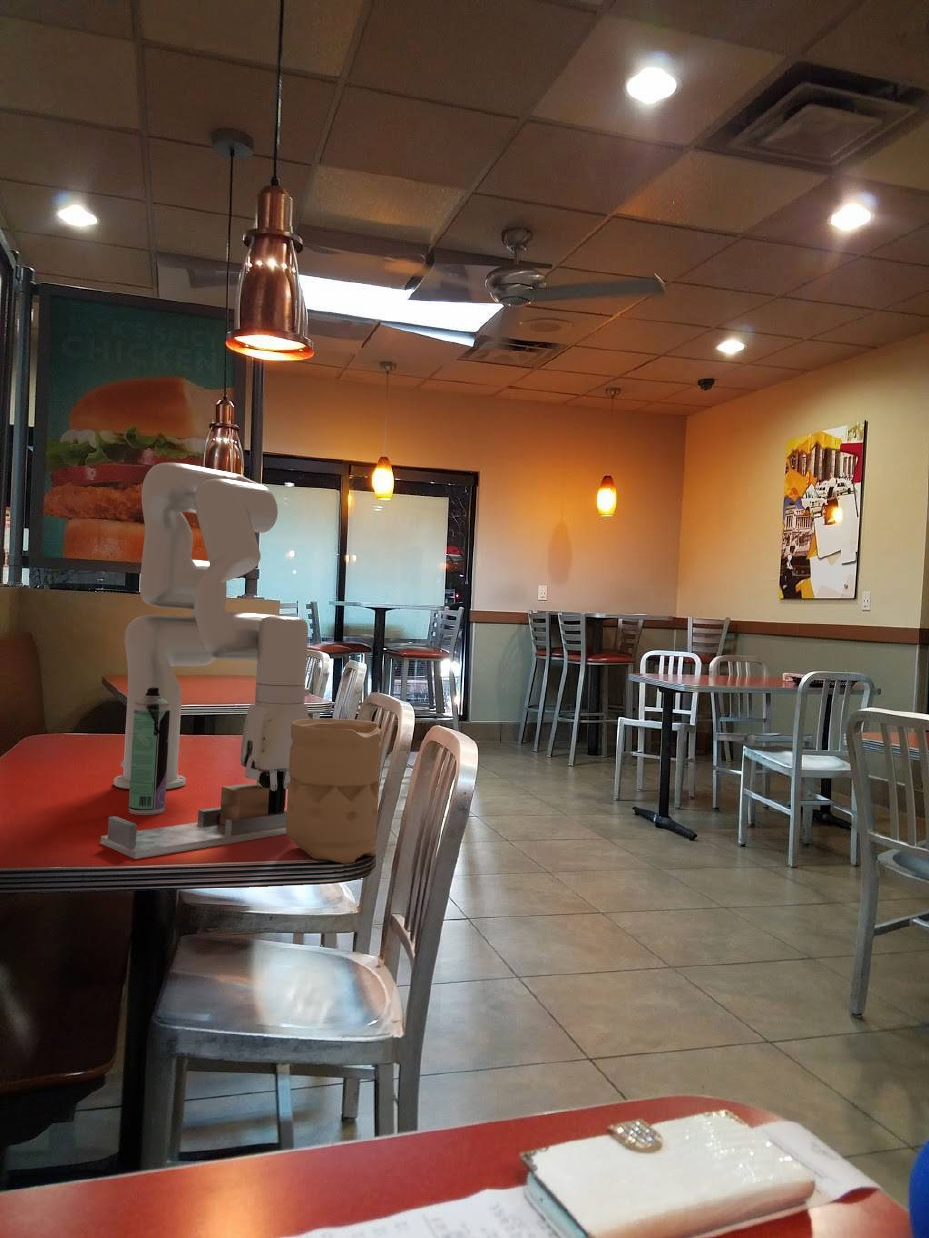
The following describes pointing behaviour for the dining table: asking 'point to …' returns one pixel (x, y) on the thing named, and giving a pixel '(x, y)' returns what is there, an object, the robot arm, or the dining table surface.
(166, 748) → the spray can
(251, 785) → the block
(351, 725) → the container
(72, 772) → the dining table surface
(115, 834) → the chute
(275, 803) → the robot arm
